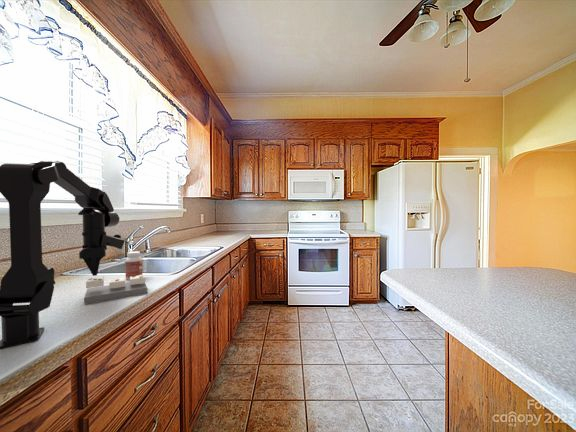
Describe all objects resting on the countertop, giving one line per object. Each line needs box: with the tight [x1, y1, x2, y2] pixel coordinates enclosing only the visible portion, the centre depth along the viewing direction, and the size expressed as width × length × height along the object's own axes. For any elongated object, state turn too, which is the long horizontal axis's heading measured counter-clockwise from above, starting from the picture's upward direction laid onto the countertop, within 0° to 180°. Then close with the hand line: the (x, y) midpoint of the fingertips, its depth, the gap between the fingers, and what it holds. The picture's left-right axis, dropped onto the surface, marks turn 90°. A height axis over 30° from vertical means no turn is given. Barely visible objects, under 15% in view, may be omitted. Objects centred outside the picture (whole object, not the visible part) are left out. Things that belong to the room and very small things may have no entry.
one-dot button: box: [108, 277, 126, 289], centre depth 85 cm, size 4×4×2 cm
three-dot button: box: [85, 276, 105, 289], centre depth 82 cm, size 4×4×2 cm
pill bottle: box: [124, 250, 144, 281], centre depth 105 cm, size 6×6×11 cm
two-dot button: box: [129, 274, 146, 285], centre depth 89 cm, size 4×4×2 cm
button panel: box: [83, 281, 148, 305], centre depth 85 cm, size 11×17×2 cm, turn 125°
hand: (95, 275), depth 82 cm, fingers closed
